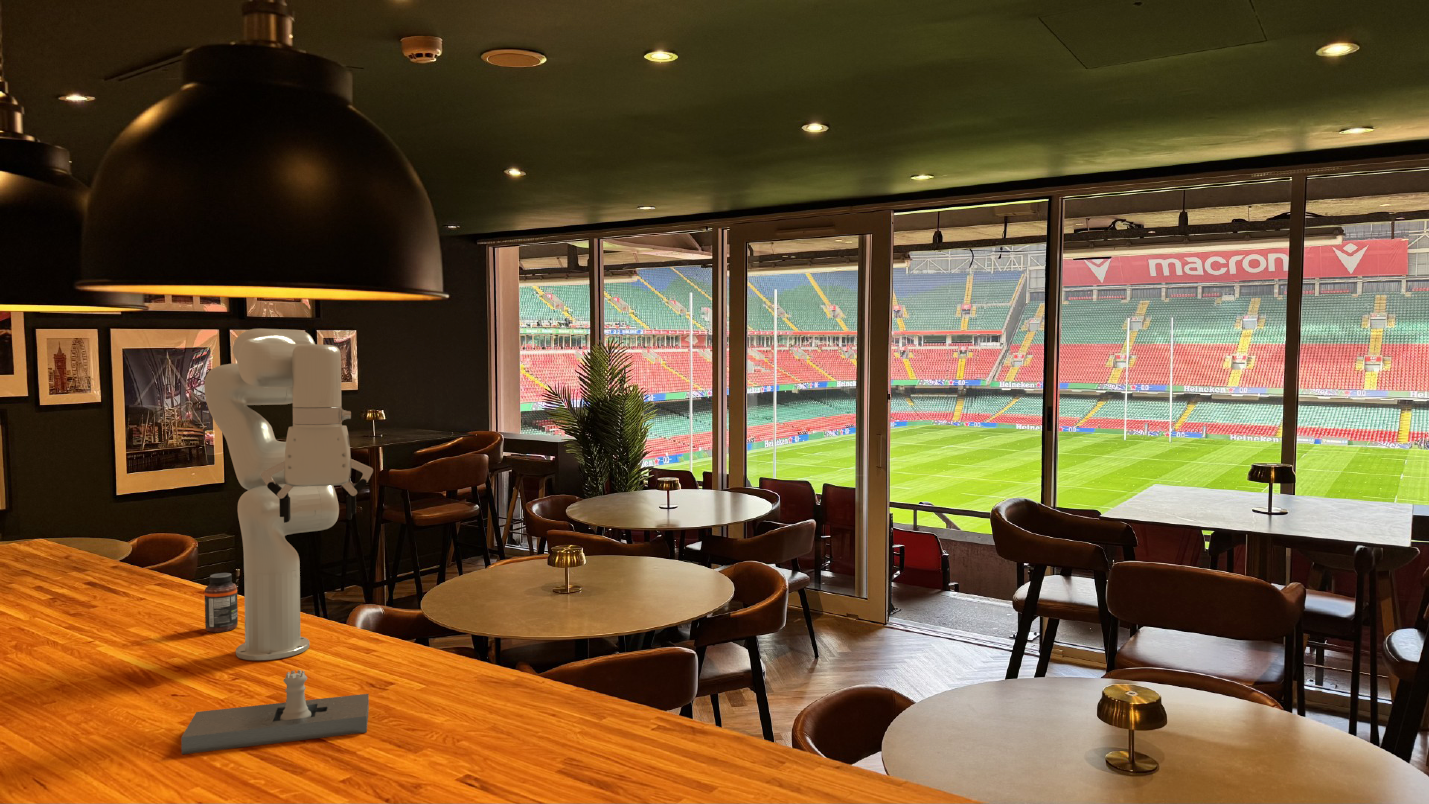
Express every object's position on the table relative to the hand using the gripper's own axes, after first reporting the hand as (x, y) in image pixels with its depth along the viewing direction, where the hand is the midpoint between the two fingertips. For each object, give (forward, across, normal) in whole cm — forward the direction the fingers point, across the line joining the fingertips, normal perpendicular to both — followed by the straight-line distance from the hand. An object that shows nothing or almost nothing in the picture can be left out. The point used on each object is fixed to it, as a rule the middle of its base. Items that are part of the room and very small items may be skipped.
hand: (318, 519), depth 153 cm
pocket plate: (+28, +4, +18) cm, 34 cm away
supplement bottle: (+28, +22, -44) cm, 57 cm away
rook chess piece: (+28, +2, +18) cm, 34 cm away
